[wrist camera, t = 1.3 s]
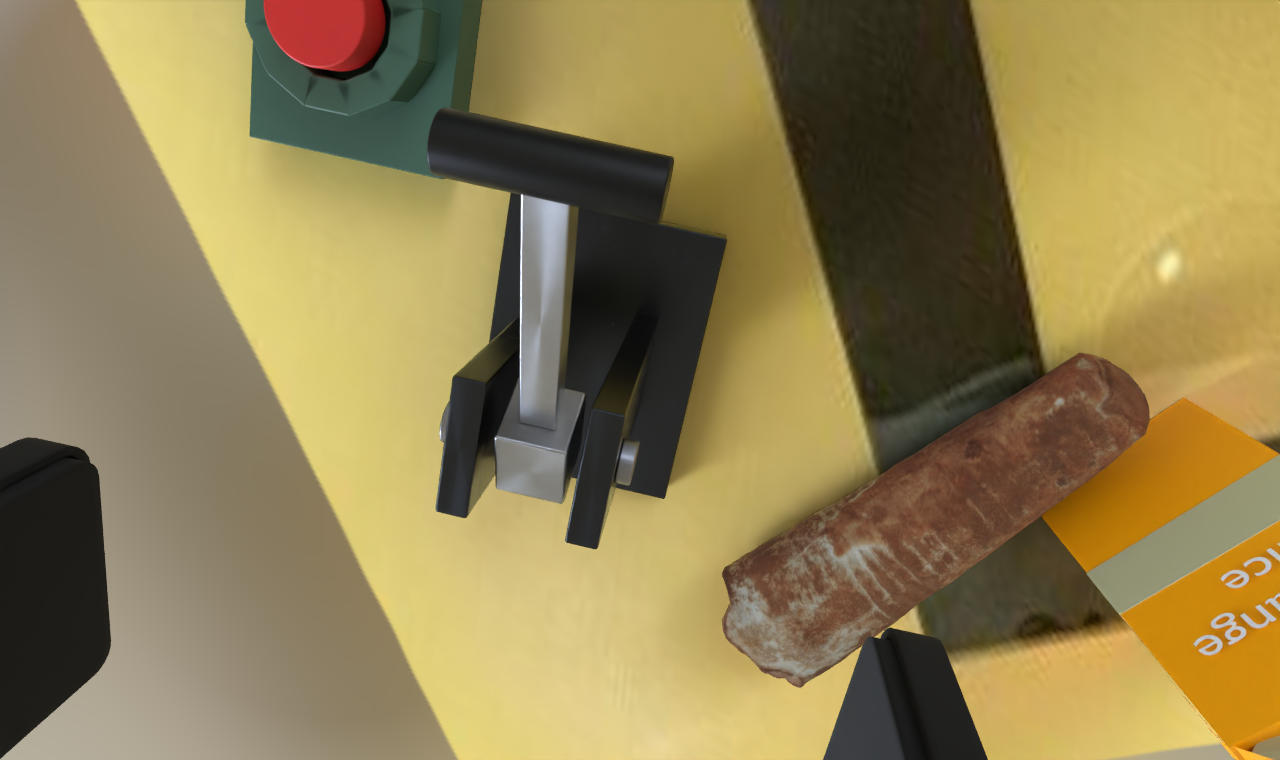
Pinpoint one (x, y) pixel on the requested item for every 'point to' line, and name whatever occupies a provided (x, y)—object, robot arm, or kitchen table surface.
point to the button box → (369, 86)
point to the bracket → (595, 363)
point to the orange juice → (1193, 564)
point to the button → (327, 31)
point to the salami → (927, 519)
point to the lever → (546, 267)
